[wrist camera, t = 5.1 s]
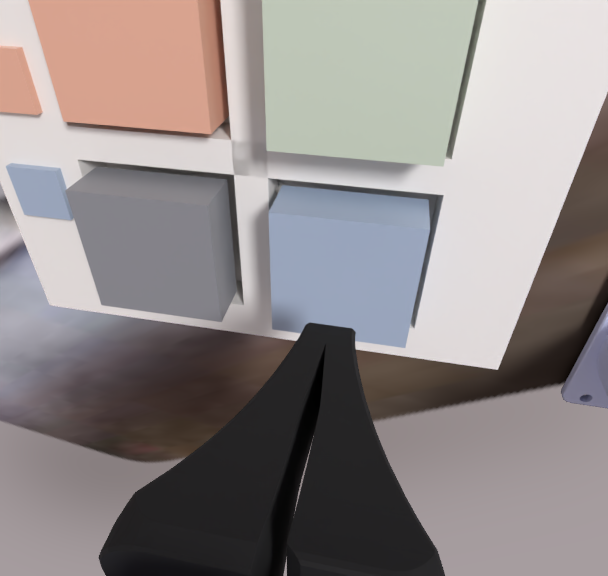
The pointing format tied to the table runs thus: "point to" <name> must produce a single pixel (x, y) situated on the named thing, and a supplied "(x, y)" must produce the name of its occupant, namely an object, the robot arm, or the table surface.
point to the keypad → (339, 170)
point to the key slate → (346, 261)
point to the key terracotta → (136, 62)
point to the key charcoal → (157, 241)
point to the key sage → (364, 76)
